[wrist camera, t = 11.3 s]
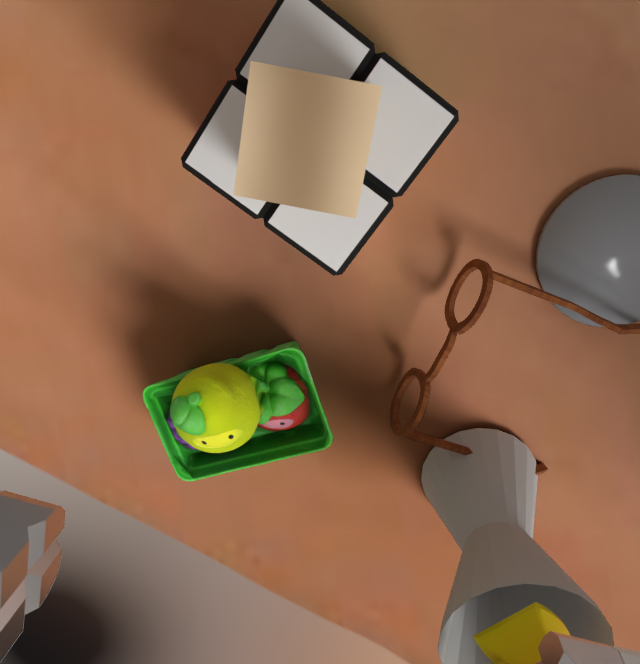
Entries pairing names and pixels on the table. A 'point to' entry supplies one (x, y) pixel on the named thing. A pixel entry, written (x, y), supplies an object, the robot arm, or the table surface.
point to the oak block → (305, 139)
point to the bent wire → (460, 329)
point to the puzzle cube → (386, 145)
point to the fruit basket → (239, 413)
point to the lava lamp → (501, 556)
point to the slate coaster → (595, 250)
